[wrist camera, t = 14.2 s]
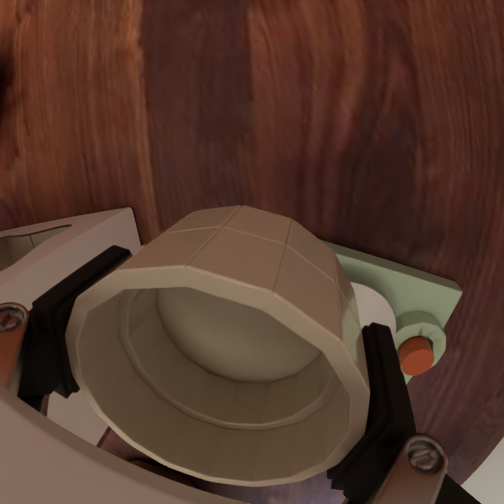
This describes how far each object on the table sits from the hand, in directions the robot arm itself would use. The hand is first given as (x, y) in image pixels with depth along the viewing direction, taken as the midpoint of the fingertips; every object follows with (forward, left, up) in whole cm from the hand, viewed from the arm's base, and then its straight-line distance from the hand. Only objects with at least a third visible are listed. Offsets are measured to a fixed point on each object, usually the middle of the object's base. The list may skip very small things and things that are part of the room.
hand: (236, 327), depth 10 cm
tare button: (-13, +7, -12) cm, 20 cm away
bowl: (0, 0, -1) cm, 1 cm away
